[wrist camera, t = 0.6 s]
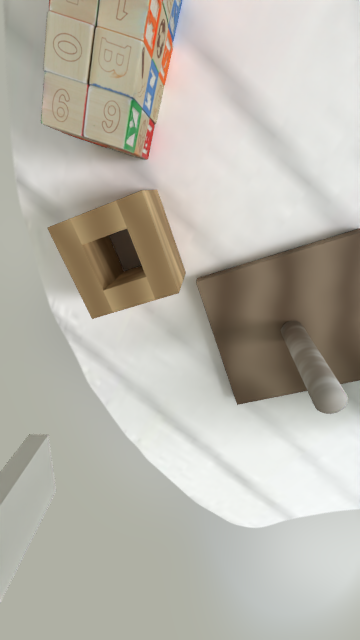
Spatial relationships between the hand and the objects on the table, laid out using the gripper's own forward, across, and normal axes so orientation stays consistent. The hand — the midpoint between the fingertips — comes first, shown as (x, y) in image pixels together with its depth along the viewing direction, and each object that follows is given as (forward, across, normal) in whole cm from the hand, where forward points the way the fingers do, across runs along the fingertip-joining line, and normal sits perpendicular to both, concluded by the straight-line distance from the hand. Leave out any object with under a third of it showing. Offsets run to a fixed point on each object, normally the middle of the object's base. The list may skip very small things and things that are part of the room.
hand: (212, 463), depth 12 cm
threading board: (+23, +11, -1) cm, 26 cm away
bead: (+24, -7, +8) cm, 26 cm away
